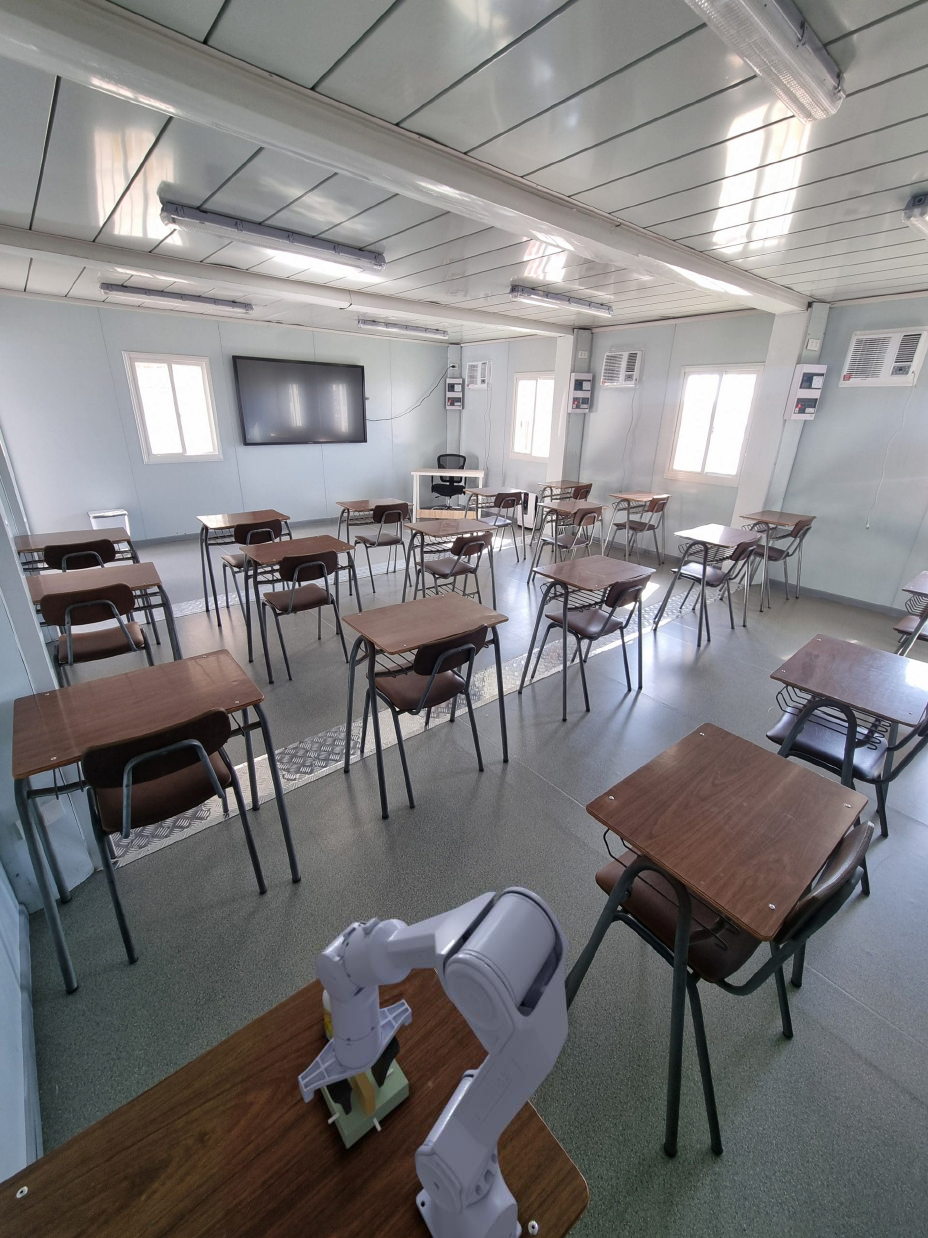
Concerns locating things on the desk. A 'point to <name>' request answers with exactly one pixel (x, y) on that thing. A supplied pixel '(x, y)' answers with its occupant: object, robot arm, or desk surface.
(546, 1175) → the desk surface
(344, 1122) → the lock plate
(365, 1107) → the block
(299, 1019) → the desk surface
